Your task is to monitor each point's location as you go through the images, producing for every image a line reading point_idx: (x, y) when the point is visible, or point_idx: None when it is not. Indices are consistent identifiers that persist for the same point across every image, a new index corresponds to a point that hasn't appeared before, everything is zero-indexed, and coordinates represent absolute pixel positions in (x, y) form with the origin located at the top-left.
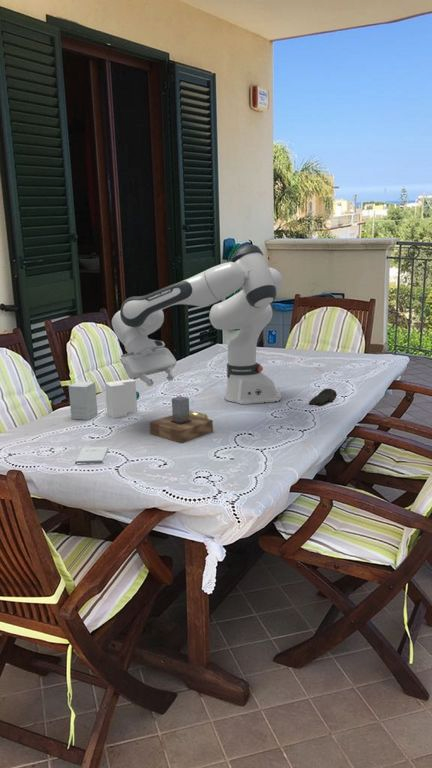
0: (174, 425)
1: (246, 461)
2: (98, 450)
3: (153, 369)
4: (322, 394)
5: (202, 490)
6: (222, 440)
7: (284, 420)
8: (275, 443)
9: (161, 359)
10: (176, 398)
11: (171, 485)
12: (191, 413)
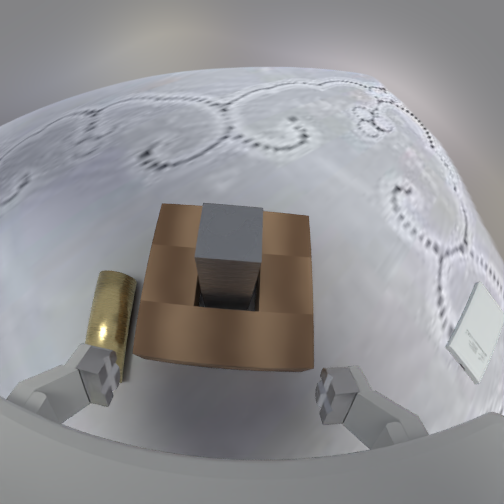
0: (281, 265)
1: (285, 103)
2: (470, 338)
3: (267, 460)
4: None
5: (395, 114)
6: (217, 171)
7: (42, 159)
8: (178, 105)
9: (6, 497)
10: (245, 243)
11: (420, 145)
12: (113, 323)
